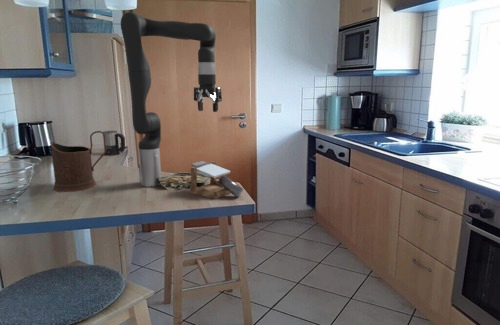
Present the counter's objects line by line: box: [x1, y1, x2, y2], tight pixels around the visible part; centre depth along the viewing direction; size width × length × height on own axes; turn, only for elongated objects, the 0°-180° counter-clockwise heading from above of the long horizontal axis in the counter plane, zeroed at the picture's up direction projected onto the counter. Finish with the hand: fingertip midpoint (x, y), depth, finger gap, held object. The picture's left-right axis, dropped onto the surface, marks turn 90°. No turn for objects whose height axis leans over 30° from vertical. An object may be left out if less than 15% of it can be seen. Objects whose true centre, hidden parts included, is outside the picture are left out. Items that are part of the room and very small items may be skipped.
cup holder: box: [50, 130, 106, 193], centre depth 172 cm, size 18×24×25 cm
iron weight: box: [218, 174, 244, 198], centre depth 158 cm, size 4×4×10 cm
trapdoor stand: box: [189, 160, 231, 200], centre depth 163 cm, size 15×14×12 cm
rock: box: [158, 171, 211, 191], centre depth 175 cm, size 23×7×15 cm
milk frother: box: [102, 130, 128, 156], centre depth 245 cm, size 14×16×15 cm
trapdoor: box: [190, 160, 231, 179], centre depth 164 cm, size 15×10×2 cm
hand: (207, 111), depth 166 cm, fingers open, 8 cm apart
